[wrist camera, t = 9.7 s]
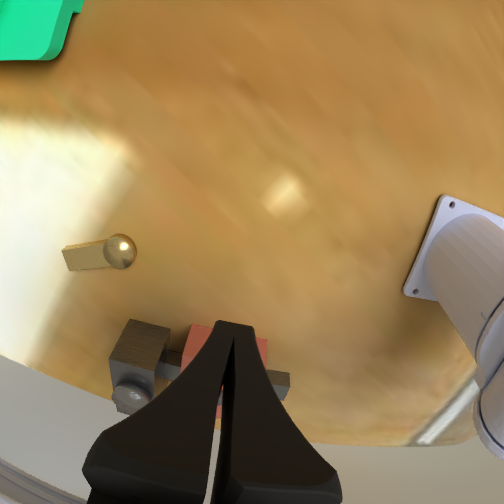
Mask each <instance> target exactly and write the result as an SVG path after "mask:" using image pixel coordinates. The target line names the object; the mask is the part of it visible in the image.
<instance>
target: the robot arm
mask: <svg viewBox="0 0 504 504" xmlns="http://www.w3.org/2000/svg"><path fill="white" fill-rule="evenodd" d="M450 202H453V204H452V206H450V207H449V204H450ZM415 289H417V290H416V291H415V292H413V290H415ZM403 292H404V294H405V295H406V296H410V297H416V298H421V299H427V300H432V301H438V302H439V304H440V305H441V307H442V308H443V310H444V311H445V313H446V314H447V316H448V317H449V319H450V321H451V322H452V324H453V325H454V327H455V328H456V330H457V331H458V333H459V335H460V336H461V338H462V339H463V341H464V343H465V344H466V346H467V348H468V349H469V351H470V353H471V354H472V356H473V358H474V359H475V361H476V363H477V370H476V372H475V374H474V376H473V377H474V379H475V381H476V383H477V385H478V386H479V388H480V392H479V393H478V395H477V397H476V399H475V401H474V405H473V421H474V425H475V428H476V431H477V433H478V435H479V437H480V439H481V441H482V442H483V443H484V445H485V446H486V447H487V448H488V449H489V450H490V452H492V453H493V454H494V455H495V456H497V457H498V458H500V459H502V460H504V218H503V217H501V216H498V215H496V214H494V213H491V212H489V211H487V210H484V209H482V208H479V207H477V206H474V205H472V204H469V203H467V202H464V201H462V200H459V199H457V198H454V197H452V196H449V195H442V196H441V197H440V199H439V201H438V204H437V207H436V210H435V212H434V215H433V218H432V221H431V223H430V226H429V228H428V231H427V234H426V236H425V239H424V241H423V244H422V246H421V248H420V251H419V253H418V256H417V258H416V260H415V263H414V265H413V267H412V269H411V272H410V274H409V276H408V278H407V281H406V283H405V285H404V287H403ZM222 386H223V394H222V414H221V435H220V444H219V451H218V458H217V464H216V470H215V477H214V483H213V489H212V495H211V502H210V504H340V503H341V502H342V490H341V485H340V481H339V478H338V475H337V471H336V470H335V469H334V468H333V467H332V466H331V465H330V464H329V463H328V462H326V461H325V460H324V459H323V458H322V457H321V456H320V454H318V452H317V451H316V450H315V449H314V448H313V447H312V446H311V444H310V443H309V442H308V441H307V440H306V438H305V437H304V436H303V434H302V433H301V432H300V430H299V429H298V428H297V426H296V425H295V424H294V422H293V421H292V419H291V418H290V416H289V415H288V413H287V412H286V410H285V408H284V407H283V405H282V403H281V401H280V400H279V398H278V396H277V394H276V392H275V390H274V388H273V386H272V384H271V381H270V379H269V377H268V374H267V372H266V369H265V367H264V364H263V361H262V359H261V356H260V352H259V349H258V346H257V342H256V337H255V332H254V328H253V327H252V326H247V325H242V324H237V323H232V322H227V321H222V320H218V321H216V322H215V325H214V328H213V330H212V332H211V334H210V335H209V337H208V339H207V340H206V342H205V343H204V345H203V346H202V348H201V349H200V350H199V352H198V353H197V355H196V356H195V357H194V359H193V360H192V361H191V362H190V363H189V364H188V366H187V367H186V368H185V369H184V370H183V372H182V373H181V374H180V375H179V376H178V377H177V378H176V379H175V380H174V381H173V382H172V383H171V384H170V385H169V386H168V387H167V388H166V389H164V390H163V391H162V392H161V393H160V394H159V395H158V396H156V397H155V398H154V399H153V400H151V401H150V402H149V403H148V404H146V405H145V406H143V407H142V408H141V409H139V410H138V411H136V412H135V413H133V414H132V415H130V416H129V417H127V418H126V419H124V420H122V421H121V422H119V423H117V424H115V425H113V426H112V427H110V428H108V429H106V430H104V431H103V432H102V433H101V434H100V436H99V437H98V438H97V439H96V441H95V442H94V444H93V445H92V447H91V449H90V451H89V452H88V454H87V457H86V460H85V463H84V465H83V468H82V472H83V475H84V476H85V478H86V480H87V481H88V483H89V484H90V486H91V488H92V489H91V493H90V495H89V498H88V501H87V500H85V499H82V498H80V497H77V496H75V495H72V494H70V493H68V492H66V491H63V490H61V489H59V488H57V487H54V486H52V485H50V484H48V483H46V482H44V481H42V480H40V479H38V478H36V477H34V476H32V475H30V474H28V473H26V472H24V471H23V470H21V469H19V468H17V467H15V466H14V465H12V464H10V463H8V462H6V461H5V460H3V459H1V458H0V504H203V502H204V498H205V495H206V488H207V482H208V475H209V465H210V458H211V449H212V441H213V433H214V426H215V419H216V412H217V405H218V401H219V397H220V394H221V390H222Z"/></svg>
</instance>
